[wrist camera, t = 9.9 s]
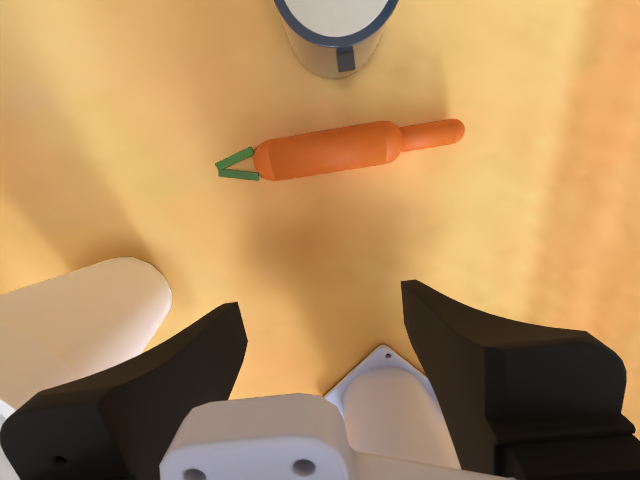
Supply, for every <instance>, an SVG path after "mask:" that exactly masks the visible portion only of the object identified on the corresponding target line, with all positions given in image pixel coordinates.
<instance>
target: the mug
mask: <svg viewBox="0 0 640 480" xmlns="http://www.w3.org/2000/svg"><path fill="white" fill-rule="evenodd" d="M398 1H399V0H274V2H275V5H276V8H277V10H278V13H279V15H280V18H281V21H282V23H283V26H284V29H285V31H286V34H287V37H288V39H289V42H290V44H291V47H292V50H293V52H294V54H295V56H296V57H297V59H298V60H299V62H300V63H301V64H302V65H303V66H304V67H305V68H306V69H307V70H308V71H310V72H311V73H313V74H315V75H317V76H319V77H322V78H326V79H340V78H344V77H347V76H350V75H352V74H354V73H355V72H357V71H358V70H360V69H361V68H362V67H363V66H364V65H365V64H366V63H367V62H368V60H369V59H370V58H371V56H372V54H373V53H374V51H375V48H376V46H377V44H378V42H379V40H380V38H381V36H382V34H383V32H384V30H385V28H386V26H387V24H388V22H389V20H390V18H391V16H392V13H393V11H394V9H395V7H396V5H397V3H398Z"/></svg>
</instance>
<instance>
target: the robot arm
mask: <svg viewBox="0 0 640 480" xmlns="http://www.w3.org/2000/svg"><path fill="white" fill-rule="evenodd" d="M401 289H402V301H403V314H404V324H405V327H406V330H407V333H408V336H409V339H410V342H411V345H412V347H413V349H414V351H415V353H416V355H417V357H418V359H419V361H420V363H421V365H422V367H423V370H424V372H425V374H426V376H427V377H426V376H425V375H424V374H422V373H421V372H420V371H419V370H417V369H416V368H415V367H413V366H412V365H411V364H410V363H408V362H407V361H406V360H404V359H403V358H402V357H401V356H399V355H398V354H397V353H395V352H394V351H393V350H392V349H390V348H389V347H388V346H386V345H380V346H379V347H377V348H376V349H375V350H374V351H373V352H372V353H371V354H370V355H369V356H368V357H366V358H365V359H364V360H363V361H362V362H361V363H360V364H359V365H358V366H357V367H355V368H354V369H353V370H352V371H351V372H350V373H349V374H348V375H347V376H345V377H344V378H343V379H342V380H341V381H340V382H339V383H338V384H337V385H336V386H334V387H333V388H332V389H331V390H330V391H329V392H328V393H327V394H326V395H325V396H323V397H321V396H319V395H311V394H302V393H295V394H285V395H275V396H265V397H255V398H245V399H235V400H228V398H229V396H230V393H231V391H232V388H233V386H234V383H235V381H236V378H237V376H238V373H239V371H240V368H241V366H242V363H243V360H244V356H245V352H246V347H247V343H248V340H247V336H246V332H245V329H244V325H243V321H242V317H241V313H240V309H239V306H238V302H233V303H225V304H222V305H220V306H219V307H217V308H215V309H214V310H212V311H211V312H209V313H208V314H206V315H205V316H203V317H202V318H200V319H199V320H198V321H196V322H195V323H193V324H192V325H190V326H189V327H187V328H186V329H184V330H182V331H181V332H179V333H178V334H176V335H174V336H173V337H171V338H170V339H168V340H166V341H165V342H163V343H161V344H159V345H158V346H156V347H154V348H152V349H150V350H148V351H146V352H144V353H142V354H140V355H138V356H136V357H133V358H131V359H129V360H127V361H125V362H122V363H120V364H118V365H116V366H113V367H111V368H108V369H106V370H103V371H100V372H98V373H95V374H92V375H90V376H87V377H84V378H81V379H78V380H75V381H72V382H68V383H65V384H62V385H59V386H55V387H52V388H49V389H45V390H42V391H40V392H38V393H37V394H35V395H34V396H33V397H32V398H30V399H29V400H28V401H27V402H26V403H25V404H23V405H22V406H21V407H20V408H19V409H17V410H16V411H15V412H14V413H13V414H12V415H10V416H9V417H8V418H7V419H6V421H5V422H4V423H3V424H2V427H1V430H0V445H1V448H2V450H3V452H4V454H5V456H6V457H7V459H8V461H9V462H10V464H11V466H12V467H13V469H14V470H15V472H16V474H17V475H18V477H19V478H20V480H640V441H639V440H638V439H637V438H636V437H635V436H634V435H633V434H632V433H635V430H636V429H635V427H634V425H633V424H632V423H631V422H630V421H629V420H628V419H627V418H626V417H625V416H623V415H622V414H621V410H622V404H623V399H624V393H625V387H626V369H625V366H624V363H623V361H622V359H621V358H620V357H619V356H618V355H617V354H616V353H615V352H614V351H613V350H611V349H610V348H609V347H607V346H606V345H604V344H603V343H602V342H600V341H599V340H597V339H596V338H595V337H593V336H592V335H591V334H589V333H588V332H586V331H580V330H570V329H561V328H552V327H545V326H540V325H534V324H528V323H523V322H519V321H514V320H510V319H506V318H503V317H499V316H495V315H492V314H489V313H486V312H483V311H480V310H477V309H474V308H472V307H469V306H467V305H464V304H462V303H460V302H458V301H455V300H453V299H451V298H449V297H447V296H445V295H443V294H441V293H440V292H438V291H436V290H434V289H432V288H430V287H429V286H427V285H425V284H423V283H421V282H420V281H418V280H408V281H401ZM387 353H389V354H390V355H387V356H386V354H387Z"/></svg>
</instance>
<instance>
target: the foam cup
mask: <svg viewBox="0 0 640 480" xmlns="http://www.w3.org/2000/svg"><path fill="white" fill-rule="evenodd" d="M171 300H172V292H171V290H170V288H169V285H168V283H167V281H166V278H165V277H164V276H163V275H162V274H161V273H160V272H159V271H158V270H157V269H156V268H155V267H154V266H152V265H151V264H149V263H147V262H144V261H142V260H139V259H137V258H134V257H116V258H114V259H109V260H106V261H103V262H100V263H97V264H94V265H91V266H87V267H84V268H81V269H78V270H75V271H72V272H69V273H66V274H63V275H60V276H57V277H54V278H51V279H48V280H45V281H42V282H39V283H36V284H32V285H29V286H26V287H23V288H20V289H17V290H14V291H11V292H8V293H5V294H2V295H0V430H1V427H2V424H3V423H4V422H5V421H6V419H7V418H8V417H9V416H10V415H12V414H13V413H14V412H15V411H16V410H17V409H19V408H20V407H21V406H22V405H23V404H25V403H26V402H27V401H28V400H29V399H30V398H32V397H33V396H34V395H35V394H37V393H38V392H40V391H42V390H45V389H49V388H52V387H55V386H59V385H62V384H65V383H68V382H72V381H75V380H78V379H81V378H84V377H87V376H90V375H92V374H95V373H98V372H100V371H103V370H106V369H108V368H111V367H113V366H116V365H118V364H120V363H122V362H125V361H127V360H129V359H131V358H133V357H136V356H138V355H140V354H141V353H142V351H143V350H144V348H145V347H146V345H147V344H148V342H149V341H150V339H151V338H152V336H153V335H154V333H155V332H156V330H157V329H158V327H159V326H160V324H161V323H162V321H163V320H164V318H165V317H166V315H167V314H168V312H169V311H170V309H171ZM0 480H20V478H19V477H18V475H17V474H16V472H15V470H14V469H13V467H12V466H11V464H10V462H9V461H8V459H7V457H6V456H5V454H4V452H3V450H2V448H1V445H0Z"/></svg>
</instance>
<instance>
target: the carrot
mask: <svg viewBox="0 0 640 480" xmlns="http://www.w3.org/2000/svg"><path fill="white" fill-rule="evenodd" d="M464 132H465V127H464V125H463V123H462V122H461V121H460V120H457V119H448V120H442V121H436V122H430V123H424V124H418V125H412V126H406V127H400V128H398V126H397V125H395V124H394V123H391V122H388V121H379V122H373V123H367V124H361V125H355V126H349V127H343V128H337V129H331V130H325V131H319V132H313V133H307V134H301V135H295V136H289V137H283V138H278V139H272V140H267V141H265V142H263V143H261V144H260V145H259V146H258V147H257V149H256V151H255V153H254V151H253V149H252V147H249V148H246V149H244V150H242V151H240V152H238V153H236V154H234V155H232V156H230V157H228V158H226V159H224V160H222V161H220V162H217V163H215V165H216V167H217V169H218V171H219V176H220V177H229V178H238V179H247V180H256V181H258V180H259V174H260V175H261V176H262V177H263V178H265V179H267V180H270V181H280V180H286V179H293V178H299V177H305V176H312V175H318V174H324V173H331V172H337V171H343V170H350V169H356V168H362V167H369V166H375V165H381V164H386V163H390V162H392V161H393V160H395V159H396V158H397V157H398V156H399V154H400V153H401V152H405V151H411V150H418V149H424V148H430V147H436V146H443V145H449V144H454V143H456V142H458V141H459V140H461V138H462V137H463V135H464ZM252 155H254V166H255V169H256V171H257V172H249V171H240V170H231V169H225V168H227V167H229V166H231V165H233V164H235V163H237V162H239V161H241V160H244V159H246V158H248V157H250V156H252Z"/></svg>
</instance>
